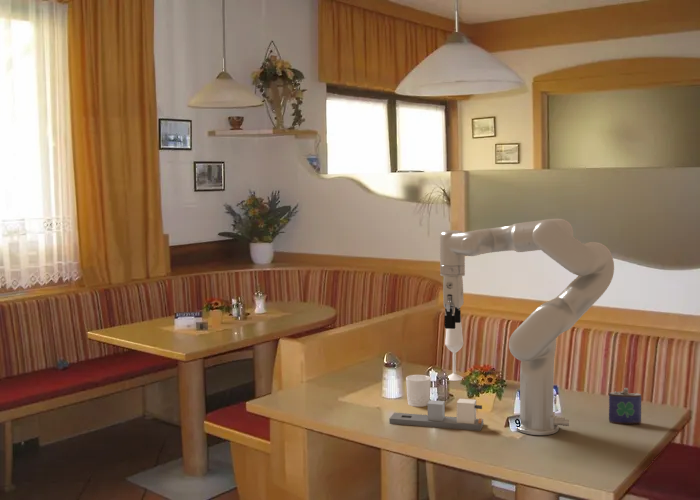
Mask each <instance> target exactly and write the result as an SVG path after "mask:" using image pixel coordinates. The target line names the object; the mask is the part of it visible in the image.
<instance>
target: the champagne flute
mask: <svg viewBox="0 0 700 500" xmlns="http://www.w3.org/2000/svg"><path fill="white" fill-rule="evenodd" d="M463 336H464V335H463V326H462V321H461V322H460V323H455V329H446V328H445V340H444V345H445V347H446V348H447V349H448V350H449V351H450V352H451V353H452V373H450V374H449V375H447V376H448V378H449V380H448V381H452V382H453V381H454V382H455V381H456V382H457V381H458V382H459V381H463V380H462V378H464V377H463V376H461V375H459V374H458V373H457V352H458V353H459V351H460V350H461V349H462V347H463V346H464V337H463Z"/></svg>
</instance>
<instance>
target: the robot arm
mask: <svg viewBox="0 0 700 500" xmlns="http://www.w3.org/2000/svg"><path fill="white" fill-rule="evenodd" d="M509 251H514V252H516V253H525V252H536V251H542V253H544V254H545V255H546V256H548V257H549V258H550V259H552V260H553V261H555V262H556V263H557V264H558V265H560V266H561V267H563V269H565V270H566V271H568V272H570V273H572V274H573V275H576V278H574V279H573V280H572V281H571V282H570V283H569V284H568V285H567V286H566V287H565V289H564V290H563V291H561V292H560V293H559V295H557V296H556V297H554V298H552V299H551V300H548V301H545V302H543V303H542V304H541V305H539V306H538V307H537V308H535V309H534V310H533V311H532V312H531V313H530V314H529V315H528V316H527V317H526V318H525V319H524V321H523V322H521V323H520V325H519V326H517V328H516V329H515V330H513V332H512V333H511V335H510V337H509V340H508V348H509V351H510V352H509V353H511V355H512V357H514V358H515V359H517V360H518V361H520V371H519V372H520V373H519V420H520V419H521V425H522V426H521V427H517V430H516V431H518V432H520V433H523V434H526V435H532V436H547V435H548V436H549V435H553V434H556V433H557V432H559V429H560V428H559V427H560V426H563V427H569V426H570V419H566V417H560V416H559V417H558V416H557V415H556V412H555V411H554V377H555V376H554V375H555V373H554V371H555V369H554V368H555V355H556V350H557V349H556V348H557V338H558V337H559V336H560V335H562V334H564V333H565V332H566V331H569V330H570V329H572V328H573V326H574V325H576V323H577V322H578V321H579V320H580V319H581V318H582V316H583V315H584V314H585V313H587V312H588V311H589V309H591V307H593V305H594V304H595V303H596V302H598V300H599V299H600V298H601V297H602V296H603V295H604V293H605V292H606V291H607V290H608V288H609V286H610V284H611V283H612V280H613V278H614V273H615V261H614V258H613V255H612V252H611V251H610V249H609V248H608V247H607V245H605V244H603V243H601V242H597V241H590V242H584V243H583V242H581V241H580V240H579V239H577V238H576V237H574V228H573V226H572V224H571V223H570V222H569V221H568V220H566V219H564V218H547V219H541V220H534V221H533V220H532V221H524V222H518V223H513V224H511V225H507V226H505V225H504V226H500V227H492V228H489V227H488V228H481V229H475V230H470V231H462V230H457V229H456V230H453V229H452V230H450V229H449V230H443V231H441V233H440V235H439V260H440V261H439V264H440V265H439V273H440V274H439V275H440V276H441V277H443V285H442V286H443V287H442V288H443V290H442V292H443V293H442V295H443V296H442V297H443V298H442V299H443V308H445V309H444V328H445V330H446V329H455V323H460V322H461V323H462V316H461V315H462V314H461V311H462V309H461V307H462V306H463V305H464V297H465V296H464V282H463V281H464V280H463V277H465V274H466V270H465V267H466V265H465V264H466V263H465V261H466V258H465V257H476V256H481V255H484V254H492V253H499V252H509Z"/></svg>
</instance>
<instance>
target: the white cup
mask: <svg viewBox="0 0 700 500" xmlns="http://www.w3.org/2000/svg"><path fill="white" fill-rule="evenodd" d="M431 380H432V379H431V377H430V376H429V375H424V374H410V375H407V376H406V377H405V384H406V385H405V386H406V399H407V404H408V406H411V407H416V408H419V407H422V408H423V407H426V406H427V407H428V402H429V401H430V400H431V399H430V397H431Z"/></svg>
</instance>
